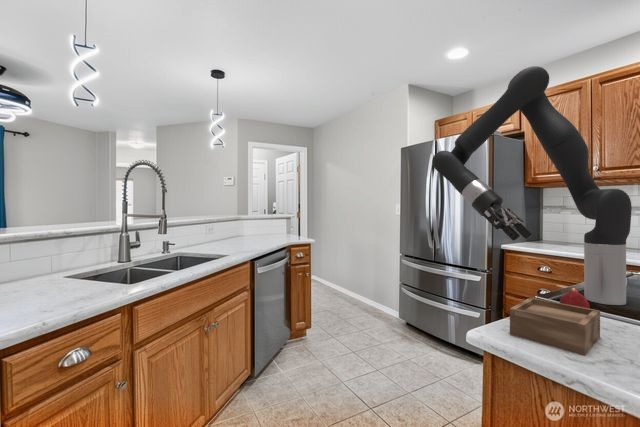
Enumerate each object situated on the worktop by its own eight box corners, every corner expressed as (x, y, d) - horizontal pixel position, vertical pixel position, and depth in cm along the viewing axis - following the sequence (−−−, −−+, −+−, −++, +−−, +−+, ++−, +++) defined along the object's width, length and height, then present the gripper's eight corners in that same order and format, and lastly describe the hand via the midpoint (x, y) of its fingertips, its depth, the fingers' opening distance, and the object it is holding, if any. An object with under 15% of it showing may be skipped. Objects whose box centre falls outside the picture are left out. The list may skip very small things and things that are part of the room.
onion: (595, 325, 74) (595, 291, 74) (568, 323, 75) (567, 290, 75) (580, 316, 80) (580, 285, 80) (555, 315, 81) (554, 285, 81)
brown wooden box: (530, 322, 78) (530, 297, 78) (600, 339, 67) (600, 310, 67) (509, 336, 70) (509, 308, 69) (584, 357, 59) (584, 325, 59)
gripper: (479, 187, 89) (524, 229, 80) (501, 189, 97) (544, 227, 88) (461, 206, 93) (502, 248, 84) (483, 206, 101) (522, 244, 93)
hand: (523, 237), depth 86 cm, fingers open, 8 cm apart
